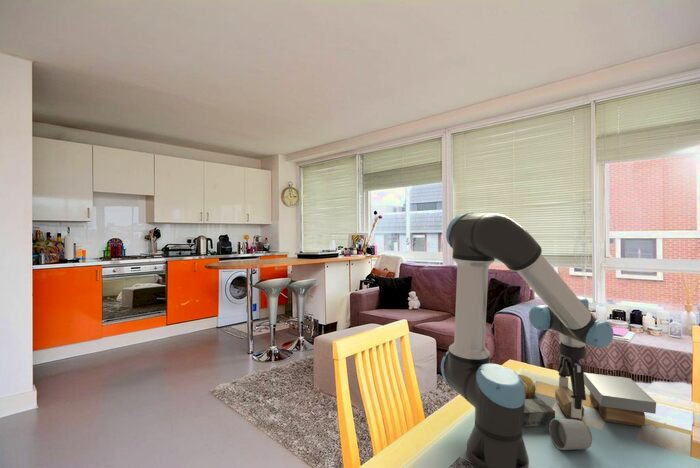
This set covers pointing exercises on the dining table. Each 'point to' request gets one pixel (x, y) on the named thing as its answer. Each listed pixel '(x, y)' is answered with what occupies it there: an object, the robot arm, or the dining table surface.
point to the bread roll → (528, 387)
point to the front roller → (622, 416)
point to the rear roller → (594, 401)
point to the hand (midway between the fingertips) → (569, 405)
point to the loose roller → (565, 401)
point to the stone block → (537, 413)
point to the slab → (619, 393)
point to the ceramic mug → (570, 434)
